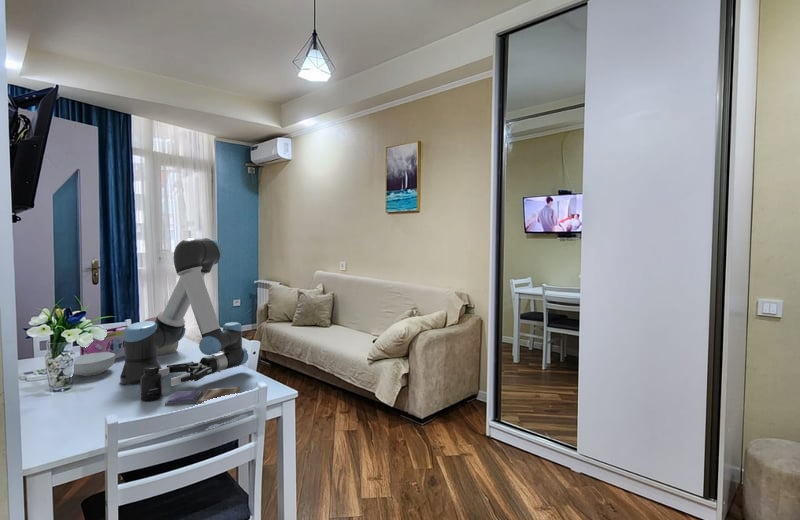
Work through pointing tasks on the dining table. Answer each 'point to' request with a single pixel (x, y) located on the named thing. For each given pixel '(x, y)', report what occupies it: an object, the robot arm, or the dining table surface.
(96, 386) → the dining table surface
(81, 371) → the cereal bowl
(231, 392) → the marked board
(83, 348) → the gum box
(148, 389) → the supplement bottle
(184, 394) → the ink pad
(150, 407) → the dining table surface
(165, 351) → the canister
